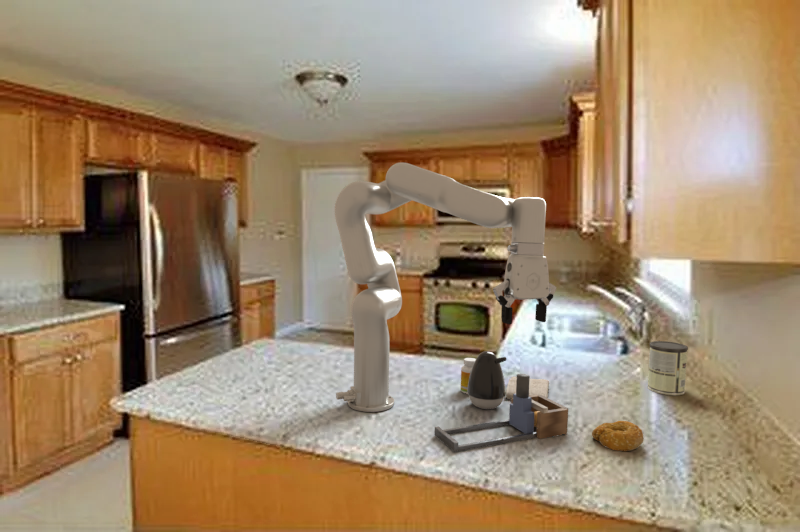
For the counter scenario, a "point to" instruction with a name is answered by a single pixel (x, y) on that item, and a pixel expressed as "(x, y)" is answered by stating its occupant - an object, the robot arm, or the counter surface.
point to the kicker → (522, 406)
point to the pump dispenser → (486, 381)
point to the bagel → (619, 435)
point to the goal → (549, 416)
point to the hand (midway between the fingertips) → (523, 322)
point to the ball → (535, 418)
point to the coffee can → (667, 367)
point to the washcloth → (534, 387)
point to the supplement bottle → (466, 373)
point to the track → (454, 446)
